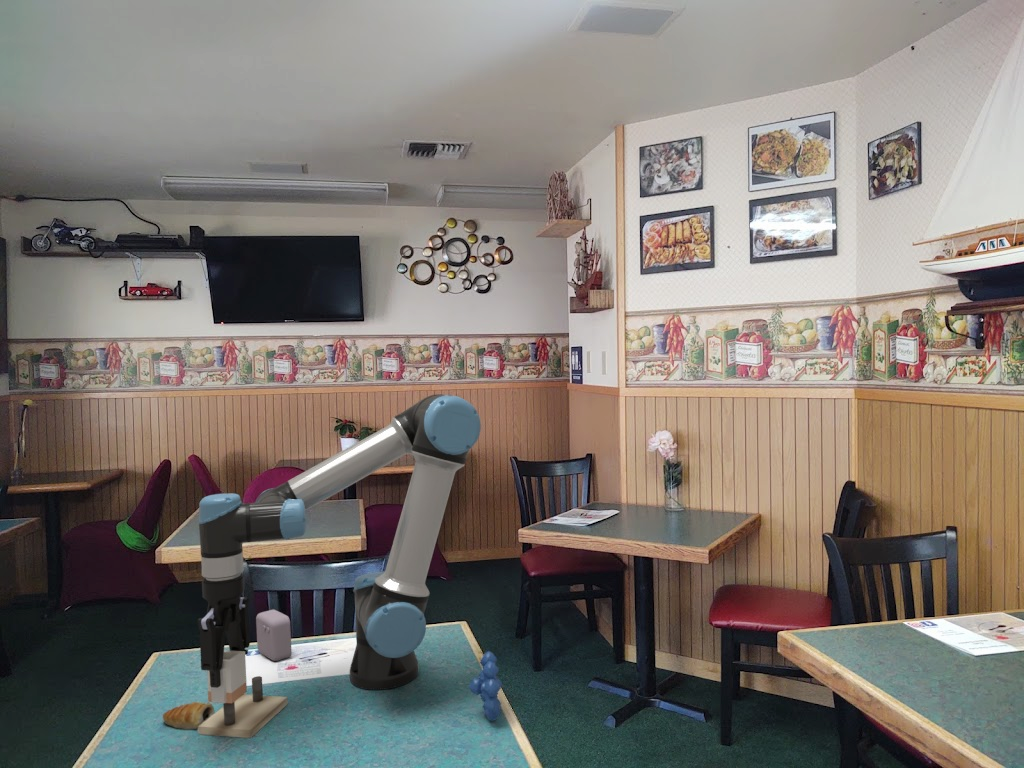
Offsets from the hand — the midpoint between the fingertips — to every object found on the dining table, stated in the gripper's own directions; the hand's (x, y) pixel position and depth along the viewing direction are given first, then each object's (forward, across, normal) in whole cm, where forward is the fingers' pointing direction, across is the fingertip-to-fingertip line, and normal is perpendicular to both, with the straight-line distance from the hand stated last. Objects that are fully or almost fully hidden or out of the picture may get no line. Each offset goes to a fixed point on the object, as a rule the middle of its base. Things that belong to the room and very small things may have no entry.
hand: (228, 695), depth 143 cm
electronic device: (+7, -36, -11) cm, 38 cm away
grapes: (+7, -13, +48) cm, 50 cm away
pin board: (+7, -5, 0) cm, 9 cm away
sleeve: (0, 0, 0) cm, 0 cm away
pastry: (+7, -2, -10) cm, 13 cm away
